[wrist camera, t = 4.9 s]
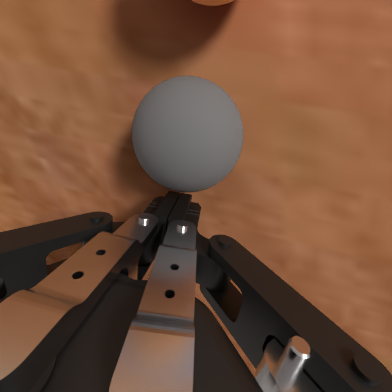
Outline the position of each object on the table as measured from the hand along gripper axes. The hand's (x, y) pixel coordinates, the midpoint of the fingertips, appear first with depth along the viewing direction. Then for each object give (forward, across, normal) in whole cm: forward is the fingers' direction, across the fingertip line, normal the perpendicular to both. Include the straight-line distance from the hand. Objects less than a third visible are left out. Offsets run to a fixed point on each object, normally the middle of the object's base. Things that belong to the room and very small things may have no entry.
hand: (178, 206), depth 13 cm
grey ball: (-1, 0, -4) cm, 5 cm away
